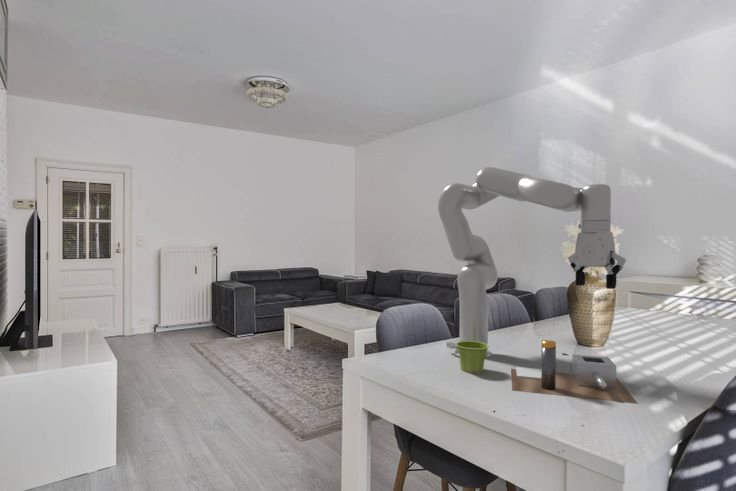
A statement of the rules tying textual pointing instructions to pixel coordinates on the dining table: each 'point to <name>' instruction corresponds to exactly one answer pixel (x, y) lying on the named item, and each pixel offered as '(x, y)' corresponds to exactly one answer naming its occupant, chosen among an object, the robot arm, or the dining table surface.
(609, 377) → the block
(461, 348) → the plant pot
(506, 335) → the dining table surface
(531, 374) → the mat
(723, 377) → the dining table surface
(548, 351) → the key peg
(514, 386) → the walnut board
